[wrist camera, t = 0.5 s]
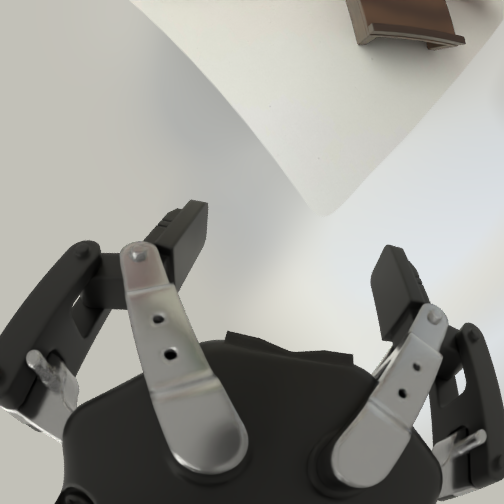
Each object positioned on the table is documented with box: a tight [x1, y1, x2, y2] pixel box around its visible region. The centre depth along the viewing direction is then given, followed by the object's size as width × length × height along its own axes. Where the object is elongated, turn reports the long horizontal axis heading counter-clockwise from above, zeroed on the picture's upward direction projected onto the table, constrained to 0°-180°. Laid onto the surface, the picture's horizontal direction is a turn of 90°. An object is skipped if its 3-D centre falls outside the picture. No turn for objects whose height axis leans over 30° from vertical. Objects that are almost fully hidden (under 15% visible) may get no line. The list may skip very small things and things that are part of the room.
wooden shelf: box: [346, 0, 466, 50], centre depth 18 cm, size 9×12×9 cm
